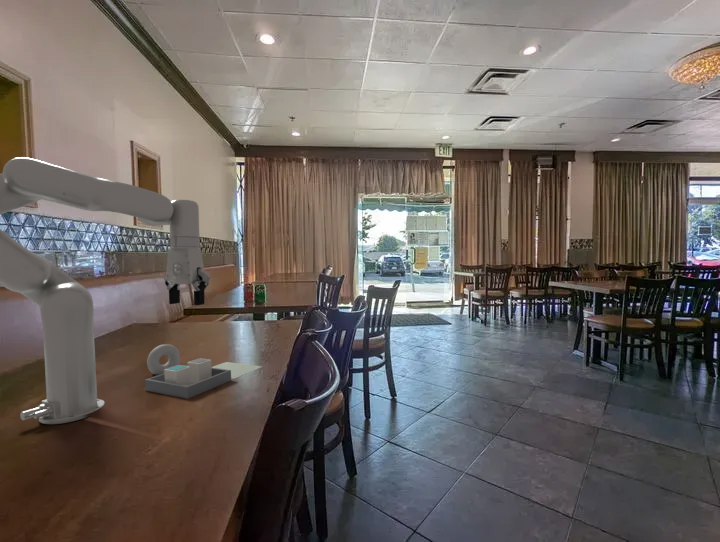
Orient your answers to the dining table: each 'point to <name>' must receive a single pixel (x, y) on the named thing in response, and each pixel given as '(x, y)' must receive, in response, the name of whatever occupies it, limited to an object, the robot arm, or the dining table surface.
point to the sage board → (237, 368)
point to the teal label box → (178, 375)
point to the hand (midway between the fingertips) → (186, 304)
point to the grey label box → (200, 369)
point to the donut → (157, 353)
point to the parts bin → (183, 391)
